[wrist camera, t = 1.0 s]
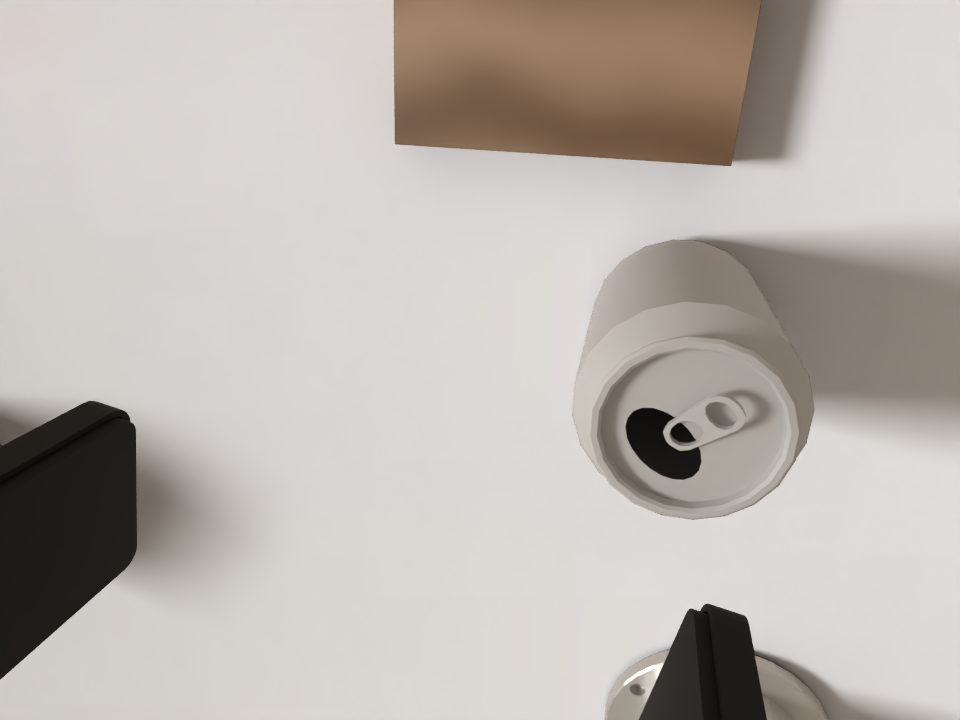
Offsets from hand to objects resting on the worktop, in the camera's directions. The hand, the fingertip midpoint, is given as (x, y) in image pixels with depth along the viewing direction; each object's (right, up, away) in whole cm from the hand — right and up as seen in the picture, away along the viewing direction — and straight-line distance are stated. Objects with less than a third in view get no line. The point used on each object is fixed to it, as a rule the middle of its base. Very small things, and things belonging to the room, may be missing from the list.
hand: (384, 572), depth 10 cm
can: (+11, +6, +20) cm, 24 cm away
